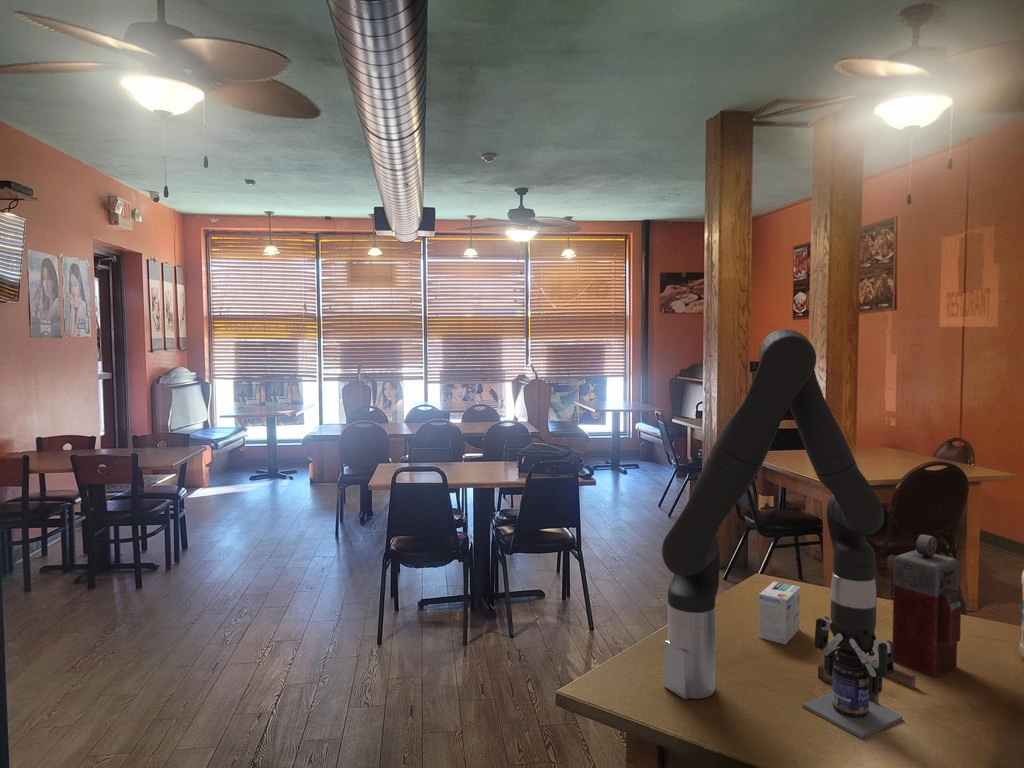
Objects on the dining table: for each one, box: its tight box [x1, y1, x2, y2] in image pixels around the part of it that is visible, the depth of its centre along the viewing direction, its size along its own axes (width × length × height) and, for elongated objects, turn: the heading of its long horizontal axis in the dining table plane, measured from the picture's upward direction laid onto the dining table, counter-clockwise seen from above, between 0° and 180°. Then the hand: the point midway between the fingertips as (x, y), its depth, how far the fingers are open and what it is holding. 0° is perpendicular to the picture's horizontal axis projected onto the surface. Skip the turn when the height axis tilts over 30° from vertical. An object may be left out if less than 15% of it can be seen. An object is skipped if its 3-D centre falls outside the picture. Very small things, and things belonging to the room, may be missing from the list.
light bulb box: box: [757, 581, 801, 645], centre depth 158 cm, size 11×7×11 cm, turn 141°
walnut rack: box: [817, 653, 917, 705], centre depth 135 cm, size 13×12×2 cm
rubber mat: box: [802, 691, 903, 740], centre depth 124 cm, size 12×12×1 cm
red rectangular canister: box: [891, 534, 962, 679], centre depth 141 cm, size 9×11×28 cm
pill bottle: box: [831, 648, 870, 718], centre depth 124 cm, size 6×6×11 cm
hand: (851, 684), depth 124 cm, fingers open, 8 cm apart
